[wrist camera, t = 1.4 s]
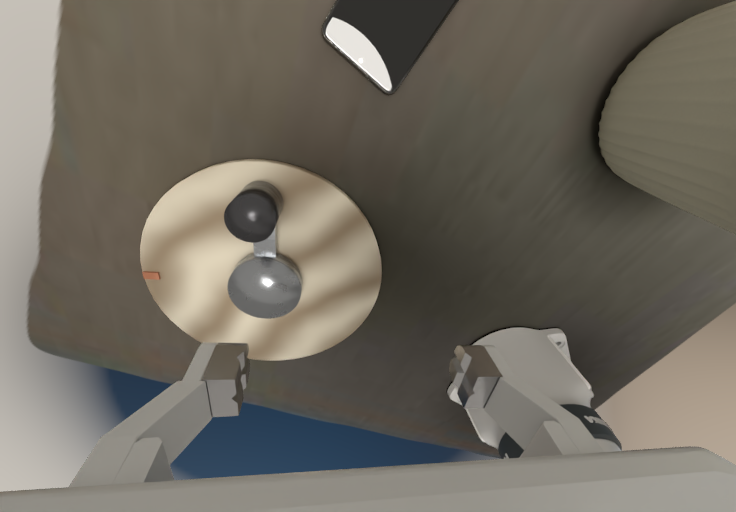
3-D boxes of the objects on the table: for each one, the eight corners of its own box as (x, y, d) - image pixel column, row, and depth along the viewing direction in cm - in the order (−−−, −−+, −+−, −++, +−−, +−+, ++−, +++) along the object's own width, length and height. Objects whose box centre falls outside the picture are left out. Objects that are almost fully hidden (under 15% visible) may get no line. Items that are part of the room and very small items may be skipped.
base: (420, 278, 35) (424, 286, 34) (275, 377, 40) (273, 388, 39) (264, 97, 25) (260, 98, 23) (97, 264, 30) (85, 273, 28)
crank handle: (302, 308, 33) (297, 345, 28) (235, 306, 32) (219, 344, 27) (304, 181, 26) (298, 201, 22) (220, 173, 25) (195, 193, 21)
